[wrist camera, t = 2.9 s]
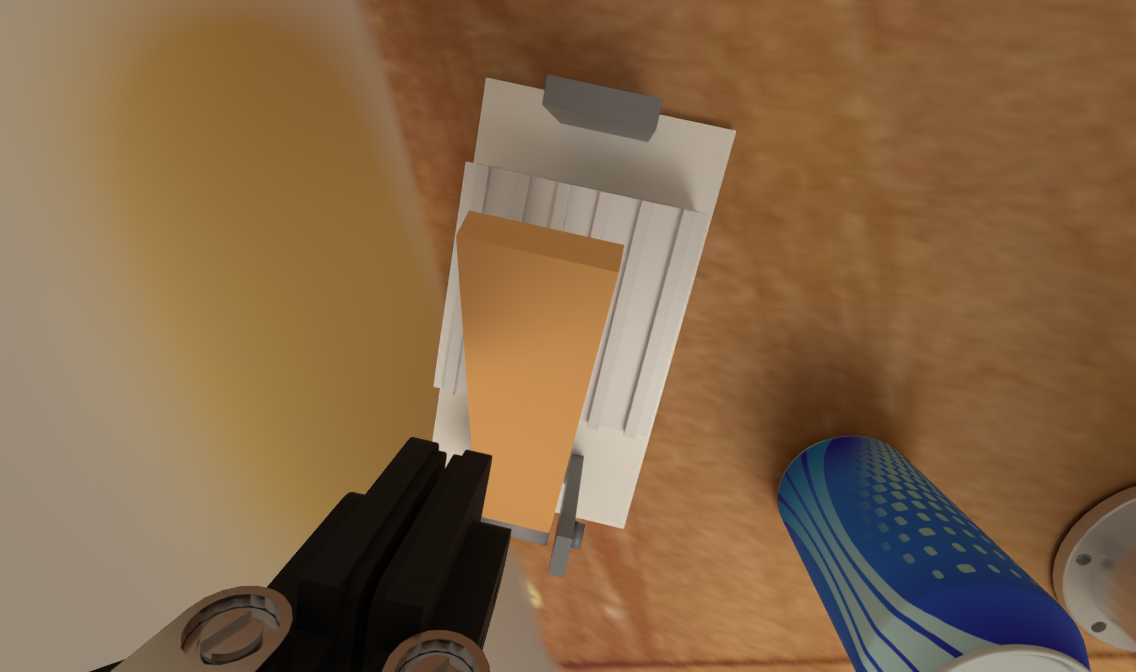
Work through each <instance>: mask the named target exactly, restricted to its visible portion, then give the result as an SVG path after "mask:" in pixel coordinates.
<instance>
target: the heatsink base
mask: <svg viewBox="0 0 1136 672" xmlns="http://www.w3.org/2000/svg"><path fill="white" fill-rule="evenodd" d="M662 103H663V99H661V98H657V97H652V96H647V95H642V94H638V93H633V92H628V91H624V90H619V89H614V88H609V87H605V86H600V85H595V84H591V83H586V82H581V81H576V80H572V79H567V78H562V77H558V76H553V75H548V74H547V79H546V84H545V90H543V89H538V88H533V87H528V86H524V85H519V84H514V83H510V82H505V81H500V80H496V79H491V78H486V81H485V88H484V95H483V102H482V109H481V115H480V122H479V129H478V136H477V142H476V149H475V156H474V163H472V162H466V163H465V170H464V177H463V184H462V191H461V198H460V205H459V212H458V219H457V226H456V233H455V240H454V247H453V254H452V261H451V268H450V274H449V281H448V288H447V295H446V302H445V309H444V316H443V323H442V330H441V337H440V345H439V351H438V358H437V365H436V372H435V379H434V387H437V388H440V392H439V399H438V406H437V413H436V420H435V426H434V433H433V440H432V442H437V443H438V444H439V451H443V452H446V453H447V459H446V466H447V464H448V462H449V461H450V459H451V457H452V456H453V454H457V455H461V456H462V455H463V453H464V451H465V450H466V449H467V450H471V451H472V447H471V433H470V420H469V407H468V393H467V380H466V366H465V353H464V339H463V326H462V312H461V299H460V285H459V272H458V259H457V245H456V235H457V233H458V231H459V229H460V227H461V225H462V223H463V221H464V219H465V217H466V215H467V213H468V211H469V210H470V211H474V212H479V213H483V214H488V215H492V216H497V217H501V218H506V219H510V220H515V221H519V222H524V223H528V224H533V225H537V226H542V227H546V228H550V229H555V230H559V231H564V232H568V233H573V234H577V235H582V236H586V237H591V238H595V239H600V240H604V241H609V242H613V243H618V244H622V245H624V250H623V255H622V260H621V265H620V270H619V274H618V278H617V282H616V285H615V289H614V293H613V297H612V300H611V304H610V308H609V311H608V315H607V319H606V323H605V326H604V330H603V334H602V338H601V341H600V345H599V349H598V353H597V356H596V360H595V364H594V368H593V371H592V375H591V379H590V383H589V386H588V390H587V394H586V398H585V401H584V405H583V409H582V413H581V416H580V420H579V424H578V428H577V431H576V435H575V439H574V442H573V446H572V450H571V454H570V457H569V461H568V465H567V469H566V472H565V476H564V480H563V484H562V487H561V491H560V495H559V499H558V502H557V506H556V510H555V512H556V513H559V518H558V524H557V529H556V534H555V540H554V545H553V550H552V555H551V561H550V566H549V571H548V574H552V575H556V576H560V577H563V575H564V571H565V568H566V564H567V560H568V556H569V552H570V548H574V549H578V550H580V547H581V543H582V538H583V533H584V527H585V523H582V522H578V521H575V518H576V517H577V518H581V519H585V520H589V521H593V522H597V523H601V524H606V525H610V526H614V527H618V528H622V529H624V525H625V522H626V518H627V515H628V511H629V508H630V504H631V501H632V497H633V494H634V490H635V487H636V483H637V480H638V476H639V472H640V469H641V465H642V462H643V458H644V455H645V451H646V448H647V444H648V441H649V437H650V434H651V430H652V427H653V423H654V420H655V416H656V413H657V409H658V406H659V402H660V398H661V395H662V391H663V388H664V384H665V381H666V377H667V374H668V370H669V367H670V363H671V360H672V356H673V353H674V349H675V346H676V342H677V339H678V335H679V332H680V328H681V324H682V321H683V317H684V314H685V310H686V307H687V303H688V300H689V296H690V293H691V289H692V286H693V282H694V279H695V275H696V272H697V268H698V265H699V261H700V258H701V254H702V251H703V247H704V243H705V240H706V236H707V233H708V229H709V226H710V222H711V219H712V215H713V212H714V208H715V205H716V201H717V198H718V194H719V191H720V187H721V184H722V180H723V177H724V173H725V169H726V166H727V162H728V159H729V155H730V152H731V148H732V145H733V141H734V138H735V134H736V131H735V130H730V129H725V128H721V127H716V126H711V125H707V124H702V123H697V122H692V121H688V120H683V119H678V118H674V117H669V116H664V115H660V112H661V107H662ZM446 466H445V468H446Z"/></svg>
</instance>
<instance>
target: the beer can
mask: <svg viewBox="0 0 1136 672" xmlns="http://www.w3.org/2000/svg"><path fill="white" fill-rule="evenodd" d="M778 507H779V512H780V515H781V517H782V520H783V522H784V524H785V526H786V528H787V530H788V532H789V534H790V536H791V538H792V540H793V542H794V545H795V547H796V549H797V551H798V553H799V555H800V557H801V559H802V561H803V563H804V565H805V567H806V569H807V571H808V573H809V576H810V578H811V580H812V582H813V584H814V586H815V588H816V590H817V592H818V594H819V596H820V598H821V600H822V602H823V604H824V607H825V609H826V611H827V613H828V615H829V617H830V619H831V621H832V623H833V625H834V627H835V629H836V631H837V633H838V635H839V638H840V640H841V642H842V644H843V646H844V648H845V650H846V652H847V654H848V656H849V658H850V660H851V662H852V664H853V667H854V669H855V671H856V672H1091V671H1090V666H1089V661H1088V656H1087V651H1086V647H1085V643H1084V640H1083V638H1082V636H1081V634H1080V631H1079V629H1078V627H1077V626H1076V624H1075V623H1074V621H1073V619H1072V618H1071V617H1070V616H1069V615H1068V613H1067V612H1066V611H1065V610H1064V609H1063V608H1062V607H1061V606H1060V605H1059V604H1058V603H1057V602H1056V601H1055V600H1054V599H1053V598H1052V597H1051V596H1050V595H1049V594H1048V593H1047V592H1046V591H1045V590H1044V589H1042V588H1041V587H1040V586H1039V585H1038V584H1037V583H1036V582H1035V581H1034V580H1033V579H1032V578H1031V577H1030V576H1029V575H1028V574H1027V573H1026V572H1025V571H1024V570H1023V569H1022V568H1020V567H1019V566H1018V565H1017V564H1016V563H1015V562H1014V561H1013V560H1012V559H1011V558H1010V557H1009V556H1008V555H1007V554H1006V553H1005V552H1004V551H1003V550H1002V549H1001V548H1000V547H999V546H997V545H996V544H995V543H994V542H993V541H992V540H991V539H990V538H989V537H988V536H987V535H986V534H985V533H984V532H983V531H982V530H981V529H980V528H979V527H978V526H977V525H975V524H974V523H973V522H972V521H971V520H970V519H969V518H968V517H967V516H966V515H965V514H964V513H963V512H962V511H961V510H960V509H959V508H958V507H957V506H956V505H955V504H954V503H952V502H951V501H950V500H949V499H948V498H947V497H946V496H945V495H944V494H943V493H942V492H941V491H940V490H939V489H938V488H937V487H936V486H935V485H934V484H933V483H932V482H930V481H929V480H928V479H927V478H926V477H925V476H924V475H923V474H922V473H921V472H920V471H919V470H918V469H917V468H916V467H915V466H914V465H913V464H912V463H911V462H910V461H909V460H907V459H906V458H905V457H904V456H903V455H902V454H901V453H900V452H899V451H898V450H896V449H895V448H893V447H892V446H890V445H888V444H886V443H884V442H882V441H880V440H877V439H874V438H870V437H864V436H840V437H835V438H831V439H826V440H823V441H820V442H817V443H815V444H813V445H811V446H809V447H808V448H806V449H805V450H803V451H802V452H801V453H800V454H799V455H798V456H797V457H796V458H795V459H794V460H793V461H792V462H791V464H790V465H789V466H788V468H787V469H786V471H785V472H784V474H783V476H782V479H781V481H780V485H779V489H778Z"/></svg>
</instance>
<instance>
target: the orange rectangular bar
mask: <svg viewBox="0 0 1136 672" xmlns="http://www.w3.org/2000/svg"><path fill="white" fill-rule="evenodd" d="M456 245H457V259H458V272H459V285H460V299H461V312H462V326H463V339H464V353H465V366H466V380H467V393H468V407H469V420H470V433H471V447H472V451H476V452H480V453H485V454H489V455H492V464H491V469H490V475H489V480H488V485H487V491H486V496H485V501H484V507H483V512H482V517H481V522H484V523H489V524H493V525H497V526H502V527H506V528H510V529H512V531H511V537H513V538H517V539H521V540H525V541H529V542H533V543H537V544H541V545H545V546H546V545H547V541H548V537H549V532H550V529H551V525H552V521H553V517H554V514H555V510H556V506H557V502H558V499H559V495H560V491H561V487H562V484H563V480H564V476H565V472H566V469H567V465H568V461H569V457H570V454H571V450H572V446H573V442H574V439H575V435H576V431H577V428H578V424H579V420H580V416H581V413H582V409H583V405H584V401H585V398H586V394H587V390H588V386H589V383H590V379H591V375H592V371H593V368H594V364H595V360H596V356H597V353H598V349H599V345H600V341H601V338H602V334H603V330H604V326H605V323H606V319H607V315H608V311H609V308H610V304H611V300H612V297H613V293H614V289H615V285H616V282H617V278H618V274H619V270H620V265H621V260H622V255H623V250H624V245H622V244H618V243H613V242H609V241H604V240H600V239H595V238H591V237H586V236H582V235H577V234H573V233H568V232H564V231H559V230H555V229H550V228H546V227H542V226H537V225H533V224H528V223H524V222H519V221H515V220H510V219H506V218H501V217H497V216H492V215H488V214H483V213H479V212H474V211H470V210H469V211H468V213H467V215H466V217H465V219H464V221H463V223H462V225H461V227H460V229H459V231H458V233H457V235H456Z"/></svg>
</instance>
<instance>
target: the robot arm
mask: <svg viewBox="0 0 1136 672" xmlns="http://www.w3.org/2000/svg"><path fill="white" fill-rule="evenodd" d="M446 459H447V453H446V452H443V451H439V444H438V443H437V442H432V441H428V440H423V439H419V438H414V437H411V438H410V439H409V440H408V441H407V442H406V443H405V445H404V446H403V447H402V449H401V450H400V451H399V452H398V454H397V455H396V456H395V458H394V459H393V460H392V461H391V462H390V464H389V465H388V466H387V468H386V469H385V470H384V471H383V473H382V474H381V475H380V477H379V478H378V479H377V480H376V481H375V483H374V484H373V485H372V487H371V488H370V489H369V490H368V492H367V493H366V494H365V495H364V494H359V493H355V492H350V493H348V494H347V495H345V496H344V497H343V498H342V500H341V501H340V502H339V503H338V504H337V505H336V507H335V508H334V509H333V510H332V511H331V512H330V514H329V515H328V516H327V517H326V518H325V520H324V521H323V522H322V523H321V524H320V525H319V527H318V528H317V529H316V530H315V531H314V532H313V534H312V535H311V536H310V537H309V538H308V539H307V541H306V542H305V543H304V544H303V545H302V547H301V548H300V549H299V550H298V551H297V552H296V554H295V555H294V556H293V557H292V558H291V559H290V561H289V562H288V563H287V564H286V565H285V566H284V568H283V569H282V570H281V571H280V572H279V574H278V575H277V576H276V577H275V578H274V579H273V581H272V582H271V583H270V584H269V585H268V587H267V588H265V587H260V586H240V587H235V588H231V589H226V590H222V591H220V592H217V593H215V594H212V595H210V596H208V597H205V598H204V599H202V600H200V601H199V602H197V603H196V604H194V605H193V606H191V607H190V608H188V609H187V610H186V611H184V612H183V613H182V614H181V615H179V616H178V617H177V618H176V619H175V620H173V621H172V622H171V623H170V624H168V625H167V626H166V627H165V628H164V629H162V630H161V631H160V632H159V633H157V634H156V635H155V636H154V637H152V638H151V639H150V640H149V641H147V642H146V643H145V644H144V645H142V646H141V647H140V648H139V649H137V650H136V651H135V652H134V653H133V654H131V655H130V656H129V657H128V658H126V659H124V660H122V661H119V662H116V663H113V664H110V665H107V666H104V667H101V668H99V669H96V670H93V671H90V672H490V666H489V663H488V661H487V659H486V657H485V655H484V652H483V651H482V650H483V646H484V643H485V639H486V635H487V632H488V628H489V625H490V621H491V617H492V614H493V610H494V606H495V602H496V599H497V595H498V591H499V587H500V583H501V579H502V575H503V570H504V566H505V561H506V556H507V552H508V547H509V542H510V537H511V531H512V529H510V528H506V527H502V526H497V525H493V524H489V523H484V522H481V517H482V512H483V507H484V501H485V496H486V491H487V485H488V480H489V475H490V469H491V464H492V455H489V454H485V453H480V452H476V451H471V450H467V449H466V450H465V451H464V453H463V455H462V456H461V455H457V454H453V456H452V457H451V459H450V461H449V462H448V464H447V466H446ZM445 466H446V468H445ZM1053 584H1054V591H1055V593H1056V596H1057V599H1058V601H1059V604H1060V605H1061V606H1062V608H1063V609H1064V610H1065V611H1066V612H1067V613H1068V615H1069V616H1070V617H1071V618H1072V619H1073V621H1074V622H1075V623H1077V624H1078V625H1079V626H1080V627H1081V628H1082V629H1083V630H1084V631H1085V632H1086V633H1088V634H1089V635H1091V636H1092V637H1094V638H1095V639H1097V640H1098V641H1101V642H1103V643H1105V644H1108V645H1110V646H1112V647H1115V648H1119V649H1123V650H1127V651H1131V652H1136V486H1134V487H1131V488H1129V489H1126V490H1123V491H1121V492H1119V493H1117V494H1115V495H1113V496H1111V497H1109V498H1108V499H1106V500H1104V501H1102V502H1100V503H1099V504H1098V505H1096V506H1095V507H1094V508H1092V509H1091V510H1090V511H1089V512H1087V513H1086V514H1085V515H1084V516H1083V517H1082V518H1081V519H1080V520H1079V521H1078V522H1077V523H1076V524H1075V525H1074V526H1073V527H1072V528H1071V529H1070V531H1069V533H1068V534H1067V536H1066V537H1065V539H1064V540H1063V542H1062V543H1061V545H1060V548H1059V550H1058V553H1057V555H1056V558H1055V562H1054V568H1053Z"/></svg>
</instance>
